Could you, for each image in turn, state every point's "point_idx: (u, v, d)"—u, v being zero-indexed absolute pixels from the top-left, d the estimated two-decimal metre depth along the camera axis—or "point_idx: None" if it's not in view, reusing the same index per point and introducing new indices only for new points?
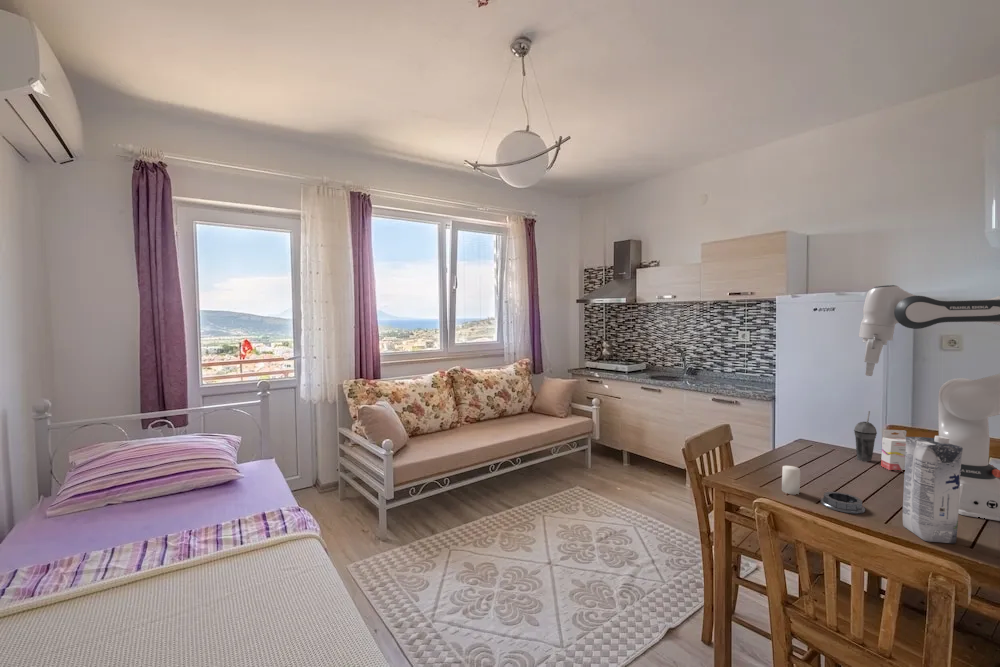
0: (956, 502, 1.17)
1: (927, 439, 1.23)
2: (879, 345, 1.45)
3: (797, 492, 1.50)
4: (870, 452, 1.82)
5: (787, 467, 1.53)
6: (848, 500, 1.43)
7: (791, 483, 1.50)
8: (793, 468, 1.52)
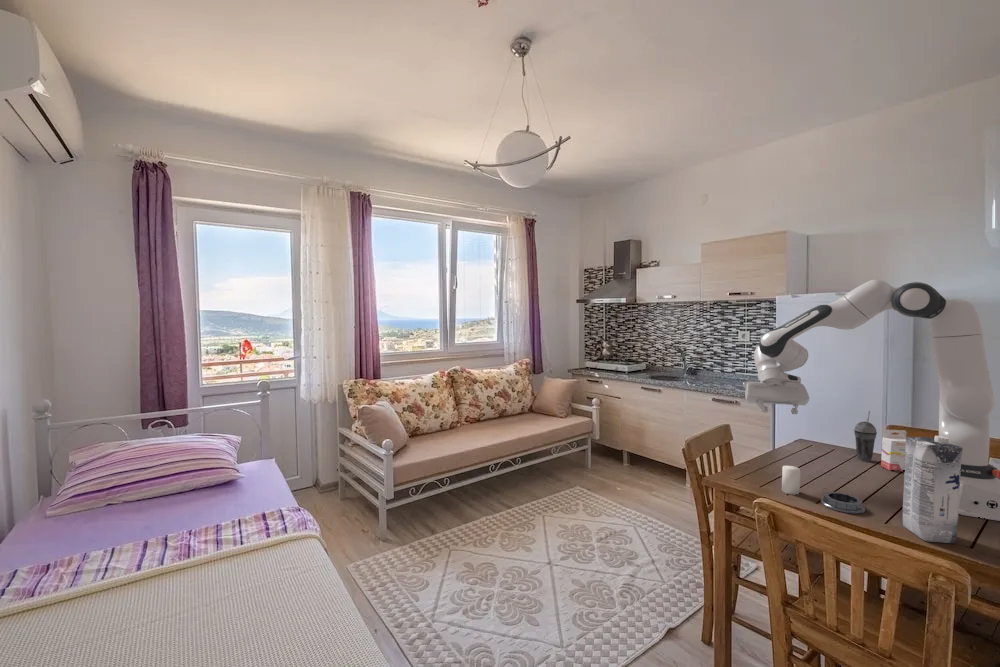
0: (956, 502, 1.17)
1: (927, 439, 1.23)
2: (747, 385, 1.71)
3: (797, 492, 1.50)
4: (870, 452, 1.82)
5: (787, 467, 1.53)
6: (848, 500, 1.43)
7: (791, 483, 1.50)
8: (793, 468, 1.52)
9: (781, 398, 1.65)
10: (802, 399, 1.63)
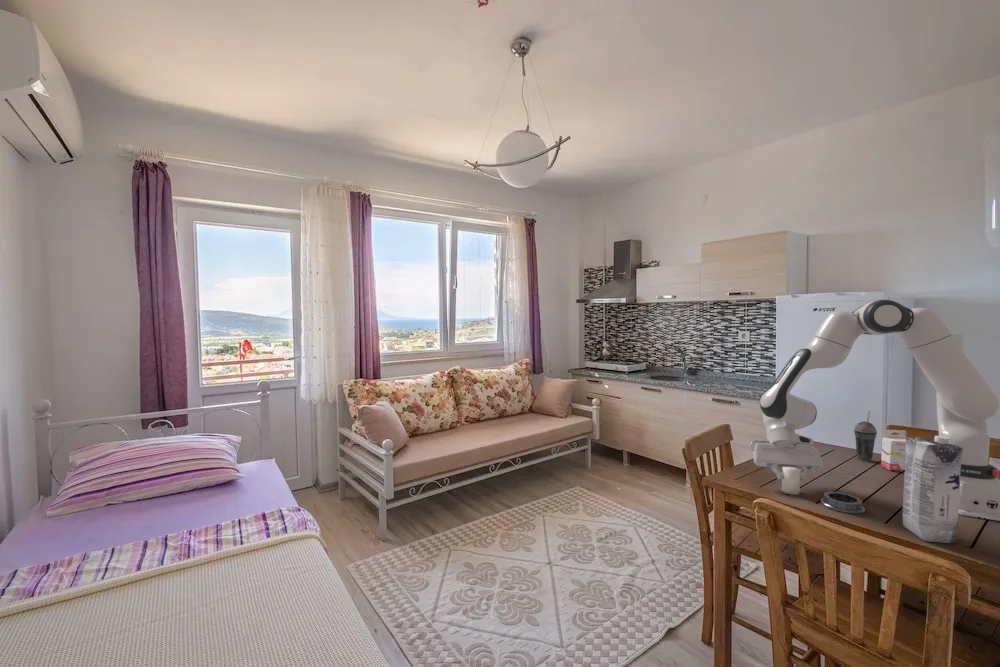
0: (956, 502, 1.17)
1: (927, 439, 1.23)
2: (755, 446, 1.60)
3: (797, 492, 1.50)
4: (870, 452, 1.82)
5: (787, 467, 1.53)
6: (848, 500, 1.43)
7: (791, 483, 1.50)
8: (793, 468, 1.52)
9: (792, 463, 1.53)
10: (815, 464, 1.52)
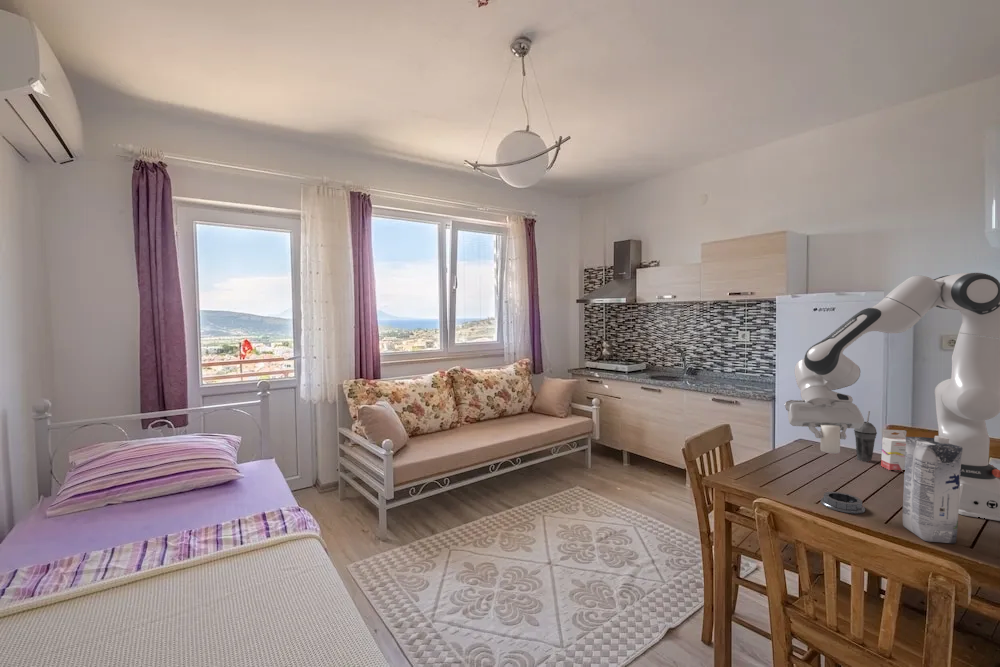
0: (956, 502, 1.17)
1: (927, 439, 1.23)
2: (790, 406, 1.51)
3: (838, 451, 1.41)
4: (870, 452, 1.82)
5: (826, 425, 1.44)
6: (848, 500, 1.43)
7: (831, 442, 1.41)
8: (832, 426, 1.43)
9: (831, 421, 1.45)
10: (856, 422, 1.43)
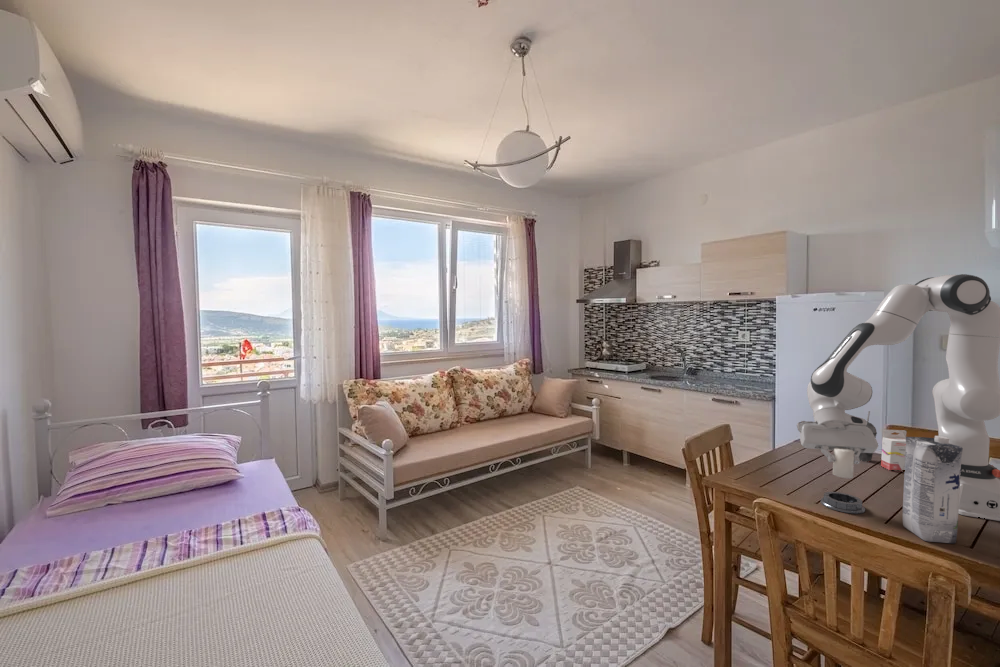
0: (956, 502, 1.17)
1: (927, 439, 1.23)
2: (802, 427, 1.48)
3: (851, 476, 1.39)
4: None
5: (839, 449, 1.41)
6: (848, 500, 1.43)
7: (844, 466, 1.38)
8: (846, 450, 1.40)
9: (845, 445, 1.42)
10: (870, 446, 1.40)
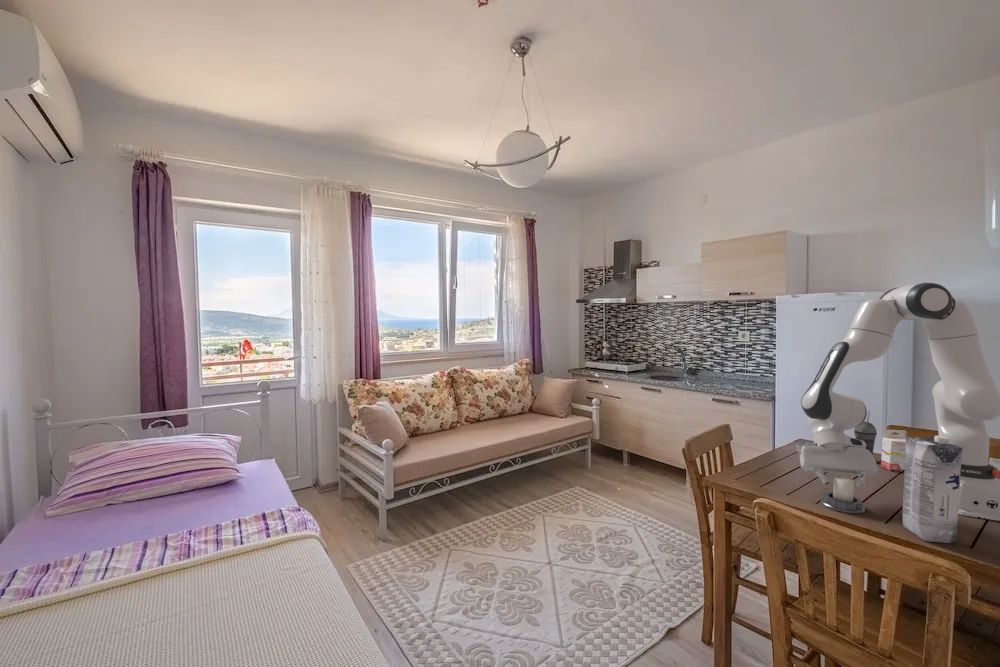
0: (956, 502, 1.17)
1: (927, 439, 1.23)
2: (802, 449, 1.48)
3: None
4: None
5: (839, 478, 1.41)
6: None
7: (844, 495, 1.39)
8: (846, 478, 1.41)
9: (844, 467, 1.42)
10: (870, 469, 1.40)
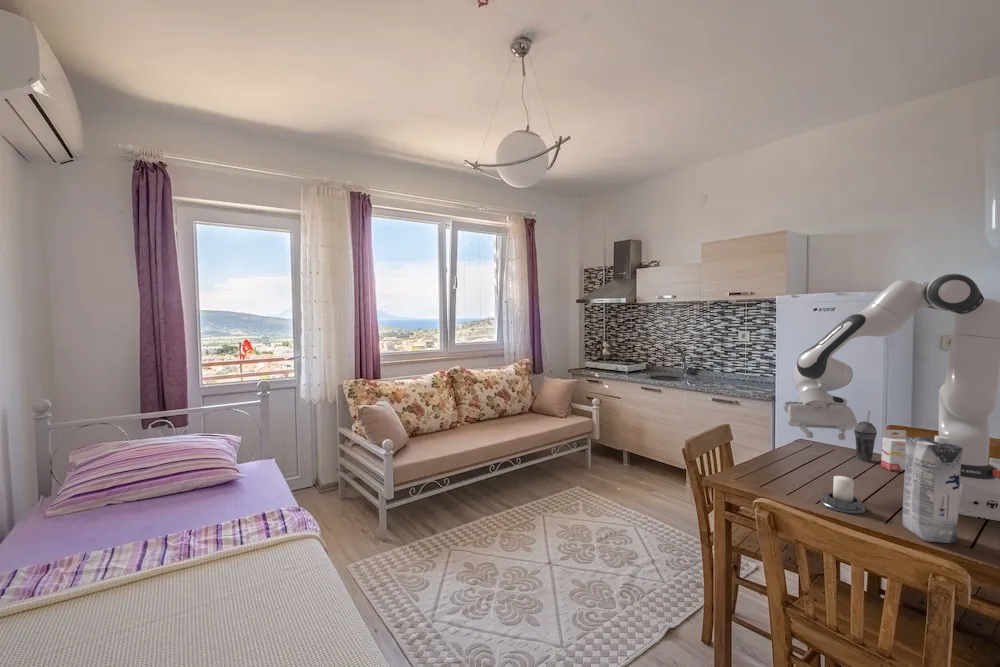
0: (956, 502, 1.17)
1: (927, 439, 1.23)
2: (789, 407, 1.61)
3: None
4: (870, 452, 1.82)
5: (839, 478, 1.41)
6: None
7: (844, 495, 1.39)
8: (845, 478, 1.41)
9: (827, 422, 1.55)
10: (849, 423, 1.53)
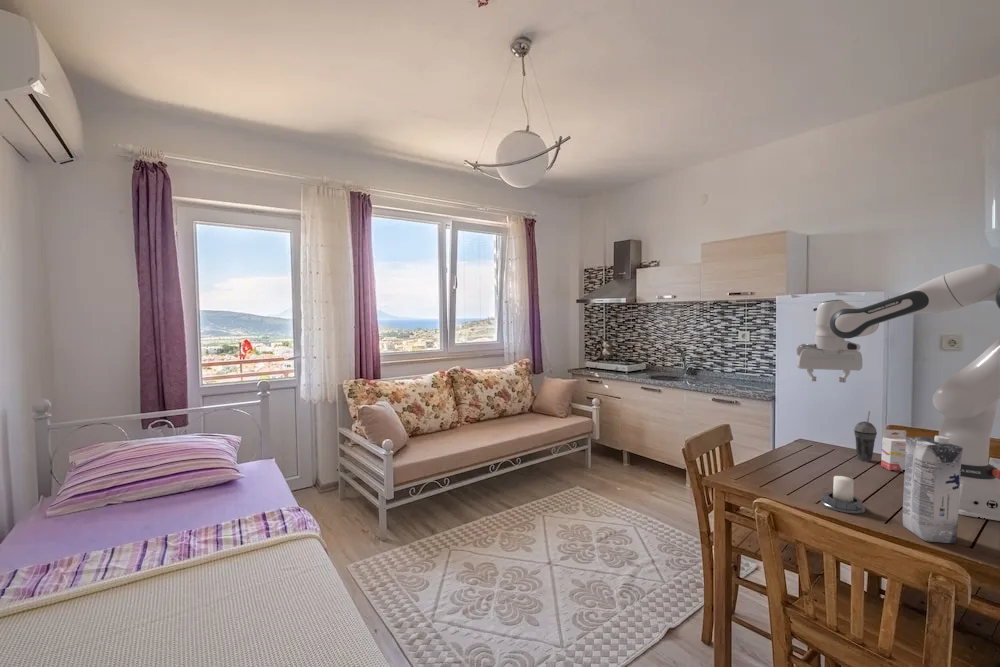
0: (956, 502, 1.17)
1: (927, 439, 1.23)
2: (801, 352, 1.69)
3: None
4: (870, 452, 1.82)
5: (839, 478, 1.41)
6: None
7: (844, 495, 1.39)
8: (845, 478, 1.41)
9: (833, 368, 1.66)
10: (854, 369, 1.65)
